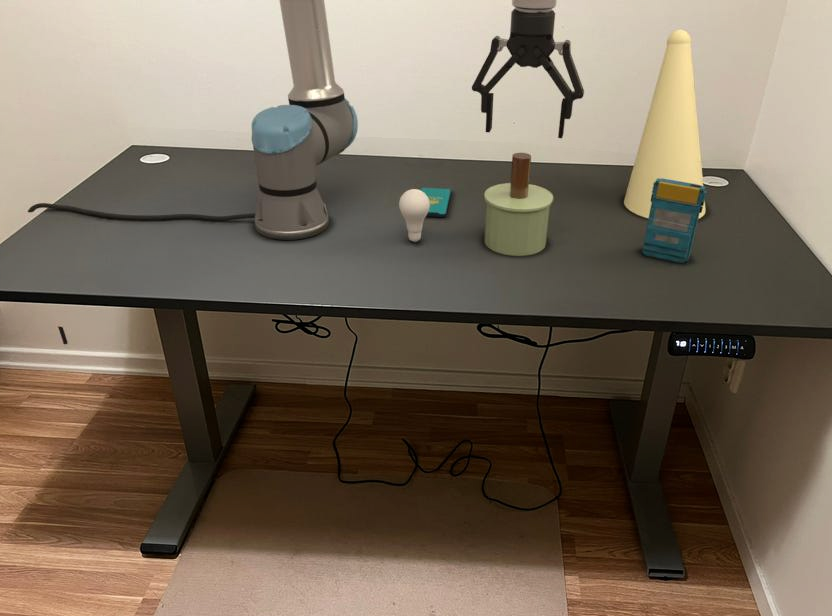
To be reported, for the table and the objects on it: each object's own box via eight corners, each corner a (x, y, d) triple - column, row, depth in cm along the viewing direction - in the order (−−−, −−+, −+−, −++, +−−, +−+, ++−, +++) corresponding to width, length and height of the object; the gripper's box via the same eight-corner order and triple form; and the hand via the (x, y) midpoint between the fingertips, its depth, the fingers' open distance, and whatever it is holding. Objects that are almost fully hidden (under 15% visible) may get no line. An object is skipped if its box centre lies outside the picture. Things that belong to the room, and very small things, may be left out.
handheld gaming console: (691, 257, 144) (708, 185, 135) (687, 266, 141) (704, 193, 132) (642, 247, 147) (656, 176, 139) (638, 255, 144) (651, 183, 136)
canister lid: (478, 210, 139) (480, 164, 134) (490, 185, 150) (492, 141, 145) (548, 218, 137) (553, 171, 131) (555, 192, 148) (560, 147, 142)
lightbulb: (435, 239, 148) (435, 188, 142) (418, 250, 144) (418, 198, 138) (410, 232, 151) (410, 182, 145) (393, 243, 147) (392, 191, 141)
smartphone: (451, 188, 169) (445, 213, 157) (451, 191, 170) (445, 217, 157) (420, 187, 170) (412, 212, 157) (420, 190, 170) (412, 216, 158)
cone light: (715, 223, 158) (756, 53, 138) (631, 220, 158) (660, 50, 138) (688, 182, 178) (721, 28, 158) (614, 180, 179) (637, 26, 159)
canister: (479, 251, 144) (481, 207, 139) (490, 226, 154) (492, 183, 149) (542, 259, 142) (546, 213, 137) (548, 232, 152) (553, 189, 147)
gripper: (457, 8, 123) (455, 133, 135) (606, 16, 118) (590, 144, 130) (466, 2, 129) (463, 122, 141) (608, 9, 124) (592, 132, 136)
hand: (524, 133), depth 136 cm, fingers open, 13 cm apart
